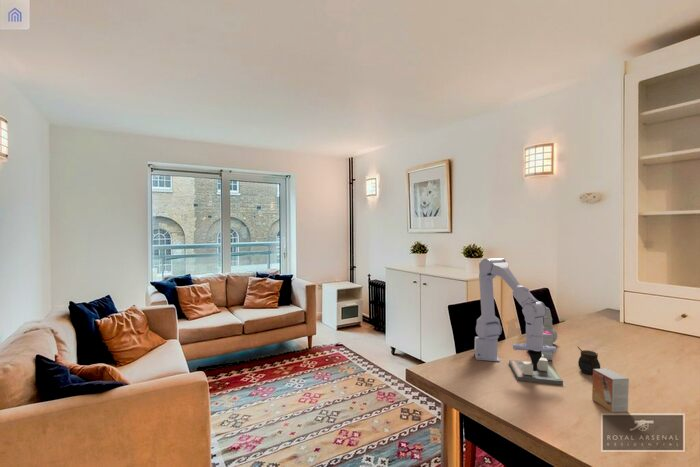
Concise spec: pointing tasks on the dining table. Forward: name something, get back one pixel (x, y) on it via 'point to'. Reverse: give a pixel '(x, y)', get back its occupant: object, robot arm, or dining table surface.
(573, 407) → the dining table surface
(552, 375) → the breaker panel
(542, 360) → the handle
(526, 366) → the block
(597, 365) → the mate gourd
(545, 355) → the supplement box
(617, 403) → the small box
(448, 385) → the dining table surface
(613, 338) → the dining table surface
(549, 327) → the headphones
